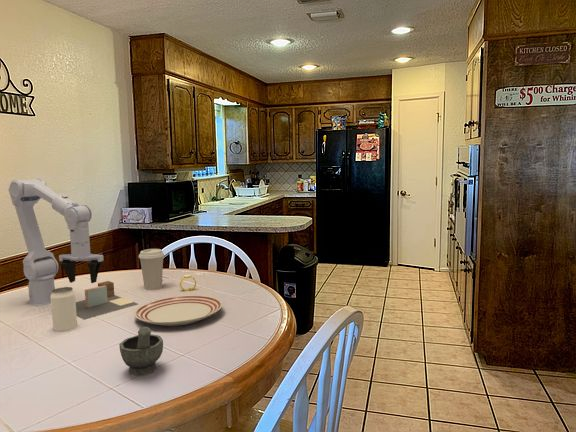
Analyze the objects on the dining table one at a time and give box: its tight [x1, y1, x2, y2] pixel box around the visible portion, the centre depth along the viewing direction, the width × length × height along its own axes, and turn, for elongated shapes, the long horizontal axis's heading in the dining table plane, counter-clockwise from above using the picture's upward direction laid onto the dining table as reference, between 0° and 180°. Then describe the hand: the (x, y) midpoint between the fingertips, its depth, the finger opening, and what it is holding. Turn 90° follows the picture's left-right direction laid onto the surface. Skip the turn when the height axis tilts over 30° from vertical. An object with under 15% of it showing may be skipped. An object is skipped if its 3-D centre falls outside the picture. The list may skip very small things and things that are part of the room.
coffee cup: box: [138, 248, 165, 291], centre depth 172 cm, size 10×10×15 cm
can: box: [50, 286, 78, 332], centre depth 132 cm, size 6×6×12 cm
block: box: [97, 280, 115, 297], centre depth 162 cm, size 4×4×5 cm
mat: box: [75, 294, 139, 320], centre depth 152 cm, size 20×19×1 cm
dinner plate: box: [133, 294, 223, 327], centre depth 141 cm, size 27×27×3 cm
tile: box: [84, 285, 108, 308], centre depth 152 cm, size 2×7×6 cm, turn 139°
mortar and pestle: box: [118, 326, 164, 377], centre depth 104 cm, size 11×9×12 cm
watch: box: [179, 274, 197, 292], centre depth 169 cm, size 6×3×6 cm, turn 108°
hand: (83, 282), depth 148 cm, fingers open, 7 cm apart
